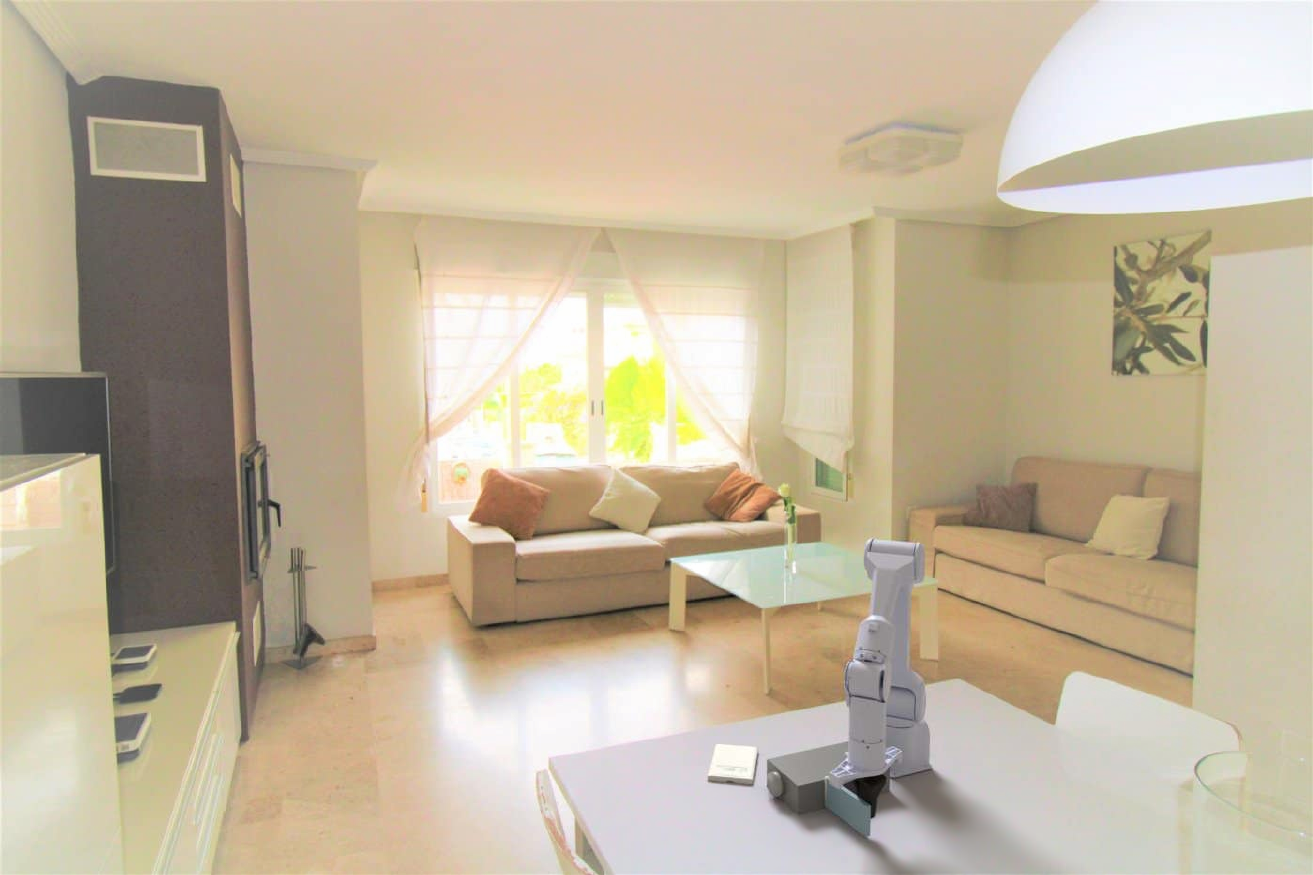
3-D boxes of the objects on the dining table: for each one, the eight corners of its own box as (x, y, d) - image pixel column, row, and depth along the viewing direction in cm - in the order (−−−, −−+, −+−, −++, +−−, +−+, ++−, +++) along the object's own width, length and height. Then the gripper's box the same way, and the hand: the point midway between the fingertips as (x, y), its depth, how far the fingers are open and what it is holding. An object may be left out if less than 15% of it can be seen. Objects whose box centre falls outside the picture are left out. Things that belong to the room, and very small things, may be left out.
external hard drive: (757, 754, 155) (752, 787, 143) (715, 751, 156) (707, 783, 144) (757, 746, 155) (752, 778, 143) (715, 743, 156) (707, 774, 144)
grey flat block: (854, 765, 149) (855, 739, 149) (890, 791, 140) (890, 764, 140) (761, 787, 141) (761, 760, 141) (792, 816, 132) (792, 787, 132)
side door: (870, 835, 126) (871, 805, 125) (865, 837, 125) (866, 806, 125) (827, 803, 135) (828, 775, 135) (823, 805, 135) (823, 776, 134)
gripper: (879, 714, 133) (878, 790, 135) (815, 737, 125) (815, 818, 127) (913, 730, 127) (912, 810, 129) (848, 755, 120) (847, 840, 121)
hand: (866, 816), depth 127 cm, fingers closed, pressing on side door
